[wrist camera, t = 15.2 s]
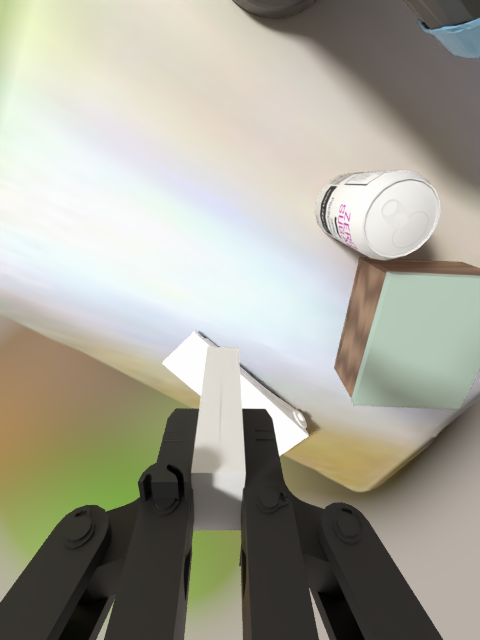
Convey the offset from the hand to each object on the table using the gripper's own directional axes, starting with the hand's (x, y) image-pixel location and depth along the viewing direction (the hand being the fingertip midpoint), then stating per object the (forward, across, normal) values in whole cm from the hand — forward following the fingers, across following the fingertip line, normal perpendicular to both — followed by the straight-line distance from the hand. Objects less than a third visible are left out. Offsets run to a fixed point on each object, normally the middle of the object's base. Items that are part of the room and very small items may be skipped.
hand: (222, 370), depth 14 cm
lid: (+22, +28, -11) cm, 37 cm away
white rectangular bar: (+31, +3, -26) cm, 41 cm away
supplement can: (+31, +16, +6) cm, 35 cm away
